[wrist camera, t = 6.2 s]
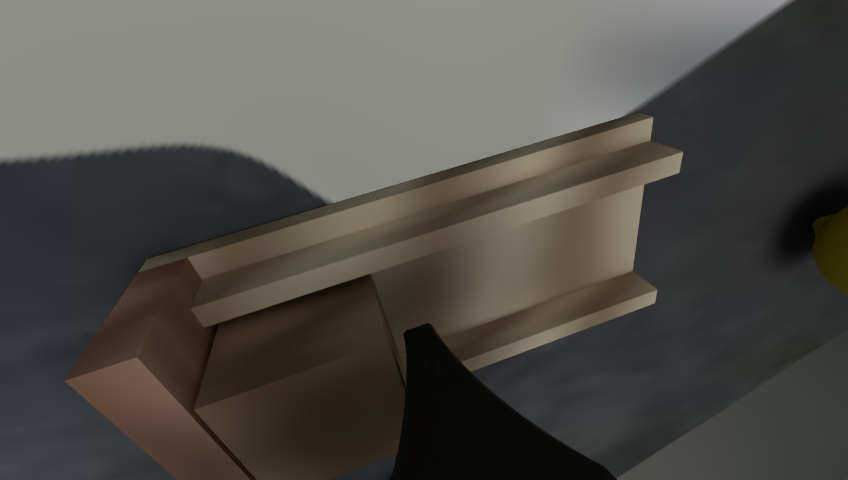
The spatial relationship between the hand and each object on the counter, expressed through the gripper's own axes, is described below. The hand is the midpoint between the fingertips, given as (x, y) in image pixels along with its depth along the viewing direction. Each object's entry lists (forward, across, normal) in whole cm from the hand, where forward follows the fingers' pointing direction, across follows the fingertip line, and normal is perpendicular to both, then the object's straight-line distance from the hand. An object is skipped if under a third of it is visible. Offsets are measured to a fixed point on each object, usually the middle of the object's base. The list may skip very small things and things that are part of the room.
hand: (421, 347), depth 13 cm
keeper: (+2, +3, 0) cm, 4 cm away
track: (+3, -2, 0) cm, 4 cm away
